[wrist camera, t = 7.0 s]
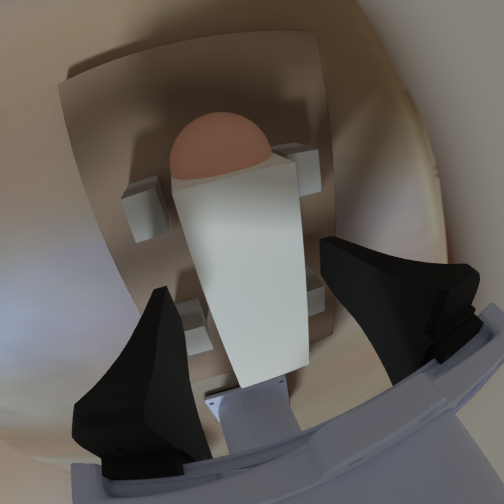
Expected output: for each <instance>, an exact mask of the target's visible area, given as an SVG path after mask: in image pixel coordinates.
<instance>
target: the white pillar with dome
mask: <svg viewBox="0 0 504 504" xmlns="http://www.w3.org/2000/svg"><path fill="white" fill-rule="evenodd" d="M170 172H171V185H172V196H173V199H174V202H175V206H176V209H177V212H178V216H179V219H180V222H181V225H182V229H183V232H184V235H185V238H186V241H187V244H188V247H189V250H190V254H191V257H192V260H193V263H194V265H195V268H196V271H197V274H198V277H199V280H200V283H201V286H202V289H203V291H204V294H205V297H206V300H207V303H208V305H209V308H210V311H211V313H212V316H213V319H214V321H215V324H216V327H217V329H218V332H219V335H220V337H221V340H222V342H223V345H224V347H225V350H226V352H227V355H228V357H229V360H230V362H231V365H232V367H233V370H234V372H235V374H236V377H237V379H238V382H239V384H240V386H241V389H242V388H245V387H248V386H251V385H254V384H257V383H260V382H263V381H266V380H269V379H272V378H275V377H278V376H280V375H283V374H286V373H288V372H291V371H294V370H296V369H299V368H301V367H304V366H306V365H309V335H308V310H307V290H306V274H305V259H304V246H303V234H302V223H301V212H300V202H299V193H298V183H297V175H296V166H295V162H294V161H291V160H289V159H287V158H284V157H282V156H280V155H277V154H275V153H272V152H271V148H270V145H269V142H268V140H267V138H266V136H265V135H264V133H263V132H262V131H261V129H260V128H259V127H258V126H257V125H256V124H254V123H253V122H252V121H250V120H249V119H247V118H245V117H243V116H240V115H237V114H234V113H228V112H216V113H210V114H206V115H203V116H201V117H199V118H197V119H195V120H194V121H192V122H191V123H189V124H188V125H187V126H186V127H185V128H184V129H183V130H182V131H181V132H180V134H179V135H178V136H177V138H176V140H175V142H174V144H173V147H172V150H171V154H170Z"/></svg>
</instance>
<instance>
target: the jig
mask: <svg viewBox="0 0 504 504" xmlns="http://www.w3.org/2000/svg"><path fill="white" fill-rule="evenodd" d="M58 89H59V94H60V99H61V104H62V109H63V114H64V118H65V123H66V127H67V131H68V135H69V139H70V142H71V146H72V150H73V153H74V157H75V160H76V163H77V167H78V170H79V173H80V176H81V179H82V182H83V185H84V188H85V191H86V194H87V197H88V199H89V202H90V205H91V207H92V210H93V213H94V215H95V218H96V220H97V223H98V225H99V228H100V230H101V233H102V235H103V238H104V240H105V242H106V245H107V247H108V249H109V251H110V254H111V256H112V258H113V260H114V262H115V264H116V267H117V269H118V271H119V273H120V275H121V277H122V279H123V281H124V283H125V285H126V287H127V289H128V291H129V293H130V295H131V297H132V299H133V301H134V302H135V304H136V306H137V308H138V310H139V312H140V314H141V315H142V314H143V312H144V310H145V307H146V305H147V303H148V301H149V298H150V296H151V294H152V292H153V290H154V289H156V288H160V287H163V286H166V285H167V288H168V290H169V292H170V294H171V297H172V299H173V301H174V304H175V306H176V308H177V310H178V312H179V315H180V317H181V319H182V324H183V328H184V333H185V338H186V348H187V358H188V368H189V377H190V383H191V382H195V381H199V380H202V379H206V378H210V377H213V376H217V375H220V374H224V373H227V372H231V371H234V370H233V367H232V365H231V362H230V360H229V357H228V355H227V352H226V350H225V347H224V345H223V342H222V340H221V337H220V335H219V332H218V329H217V327H216V324H215V321H214V319H213V316H212V313H211V311H210V308H209V305H208V303H207V300H206V297H205V294H204V291H203V289H202V286H201V283H200V280H199V277H198V274H197V271H196V268H195V265H194V263H193V260H192V257H191V254H190V250H189V247H188V244H187V241H186V238H185V235H184V232H183V229H182V225H181V222H180V219H179V216H178V212H177V209H176V206H175V202H174V199H173V196H172V185H171V172H170V154H171V150H172V147H173V144H174V142H175V140H176V138H177V136H178V135H179V134H180V132H181V131H182V130H183V129H184V128H185V127H186V126H187V125H188V124H189V123H191V122H192V121H194V120H195V119H197V118H199V117H201V116H203V115H206V114H210V113H216V112H228V113H234V114H237V115H240V116H243V117H245V118H247V119H249V120H250V121H252V122H253V123H254V124H256V125H257V126H258V127H259V128H260V129H261V131H262V132H263V133H264V135H265V136H266V138H267V140H268V142H269V145H270V148H271V152H272V153H275V154H277V155H280V156H282V157H284V158H287V159H289V160H291V161H294V162H295V166H296V175H297V183H298V193H299V202H300V212H301V223H302V234H303V246H304V259H305V274H306V290H307V310H308V335H309V344H310V343H313V342H315V341H318V340H320V339H323V338H325V337H327V336H330V335H332V334H333V326H334V308H335V295H334V294H333V293H332V291H331V290H330V289H329V287H328V286H327V284H326V283H325V281H324V279H323V278H322V276H321V274H320V246H319V239H321V238H325V237H328V236H334V237H336V211H335V186H334V169H333V155H332V143H331V132H330V122H329V113H328V105H327V97H326V90H325V83H324V76H323V70H322V63H321V58H320V52H319V46H318V41H317V36H316V31H300V30H273V31H252V32H239V33H229V34H221V35H214V36H207V37H201V38H195V39H190V40H184V41H180V42H175V43H171V44H166V45H162V46H158V47H154V48H151V49H147V50H144V51H140V52H137V53H134V54H130V55H127V56H124V57H121V58H118V59H116V60H113V61H110V62H107V63H105V64H102V65H100V66H97V67H95V68H92V69H90V70H87V71H85V72H83V73H80V74H78V75H76V76H74V77H72V78H70V79H67V80H65V81H63V82H61V83H59V84H58Z"/></svg>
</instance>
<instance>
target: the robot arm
mask: <svg viewBox="0 0 504 504" xmlns="http://www.w3.org/2000/svg"><path fill="white" fill-rule="evenodd" d="M319 246H320V274H321V276H322V278H323V279H324V281H325V283H326V284H327V286H328V287H329V289H330V290H331V291H332V293H333V294H334V295H335V296H336V297H337V299H338V300H339V301H340V302H341V303H342V305H343V306H344V307H345V308H346V309H347V310H348V312H349V313H350V314H351V315H352V316H353V318H354V319H355V320H356V321H357V323H358V324H359V325H360V326H361V328H362V330H363V331H364V333H365V334H366V336H367V337H368V339H369V341H370V342H371V344H372V346H373V347H374V349H375V351H376V353H377V354H378V356H379V358H380V360H381V362H382V364H383V366H384V368H385V370H386V372H387V374H388V376H389V378H390V380H391V383H392V385H393V386H392V387H391V388H389V389H387V390H386V391H384V392H382V393H380V394H379V395H377V396H375V397H373V398H372V399H370V400H368V401H366V402H364V403H362V404H360V405H359V406H357V407H355V408H353V409H351V410H349V411H347V412H345V413H343V414H341V415H338V416H336V417H334V418H332V419H330V420H328V421H325V422H323V423H321V424H319V425H316V426H314V427H311V428H309V429H307V430H304V431H301V429H300V426H299V424H298V422H297V420H296V418H295V416H294V414H293V412H292V409H291V407H290V404H289V396H288V389H287V382H286V376H285V374H283V375H280V376H278V377H275V378H272V379H269V380H266V381H263V382H260V383H257V384H254V385H251V386H248V387H245V388H242V389H241V387H238V388H235V389H231V390H228V391H224V392H221V393H217V394H214V395H210V396H207V397H205V403H206V404H207V406H208V407H209V408H210V410H211V411H212V413H213V414H214V415H215V417H216V418H217V420H218V421H219V422H220V424H221V427H222V430H223V434H224V437H225V441H226V444H227V447H228V451H229V454H230V455H226V456H222V457H218V458H213V457H212V454H211V452H210V449H209V446H208V444H207V441H206V438H205V435H204V432H203V429H202V425H201V422H200V419H199V415H198V412H197V408H196V405H195V401H194V397H193V393H192V389H191V383H190V377H189V368H188V358H187V348H186V338H185V333H184V328H183V324H182V319H181V317H180V315H179V312H178V310H177V308H176V306H175V304H174V301H173V299H172V297H171V294H170V292H169V290H168V288H167V285H166V286H163V287H160V288H156V289H154V290H153V292H152V294H151V296H150V298H149V301H148V303H147V305H146V307H145V310H144V312H143V314H142V316H141V318H140V320H139V323H138V325H137V327H136V328H135V330H134V332H133V334H132V336H131V338H130V340H129V341H128V343H127V345H126V346H125V348H124V349H123V351H122V352H121V354H120V355H119V357H118V358H117V359H116V361H115V362H114V363H113V365H112V366H111V367H110V369H109V370H108V371H107V372H106V374H105V375H104V376H103V377H102V378H101V379H100V380H99V381H98V383H97V384H96V385H95V386H94V387H93V388H92V389H91V390H90V391H89V392H88V393H87V394H85V395H84V396H83V397H82V398H81V399H80V400H79V401H78V402H77V403H75V404H74V411H73V422H72V438H73V439H74V440H75V442H76V443H77V444H79V445H80V446H81V447H83V448H84V449H86V450H88V451H89V452H91V453H93V454H94V455H96V456H98V457H100V458H101V462H102V466H101V465H97V464H83V463H72V464H71V483H72V500H73V504H504V484H503V482H502V480H501V479H500V477H499V476H498V474H497V473H496V471H495V470H494V468H493V467H492V465H491V464H490V462H489V461H488V459H487V458H486V456H485V455H484V453H483V452H482V451H481V449H480V448H479V446H478V445H477V444H476V442H475V441H474V439H473V438H472V437H471V435H470V434H469V432H468V431H467V430H466V428H465V427H464V426H463V425H462V423H461V422H460V420H459V419H458V418H457V416H456V415H455V413H457V411H459V410H460V409H461V408H462V407H463V406H464V405H465V404H466V403H467V402H468V401H469V400H470V399H471V398H472V397H473V396H474V395H475V394H476V393H477V392H478V391H479V390H480V389H481V388H482V387H483V385H484V384H485V383H486V382H487V381H488V380H489V379H490V377H492V376H493V374H494V373H495V372H496V371H497V370H498V369H499V367H500V366H501V365H502V364H503V362H504V312H503V311H502V310H501V309H500V308H499V307H497V306H496V305H495V304H494V303H493V302H492V303H490V304H489V305H488V306H487V307H486V308H485V309H484V310H483V311H482V312H481V313H480V314H479V316H478V317H477V316H476V315H475V314H474V312H475V308H474V307H473V306H472V305H471V304H472V301H473V299H474V297H475V294H476V292H477V289H478V286H479V282H480V276H479V273H478V271H476V270H475V269H474V268H472V267H471V266H470V265H468V264H438V263H427V262H420V261H413V260H408V259H403V258H399V257H394V256H391V255H387V254H384V253H380V252H377V251H374V250H371V249H368V248H365V247H363V246H360V245H357V244H354V243H351V242H349V241H346V240H343V239H340V238H337V237H334V236H328V237H325V238H321V239H319Z"/></svg>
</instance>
